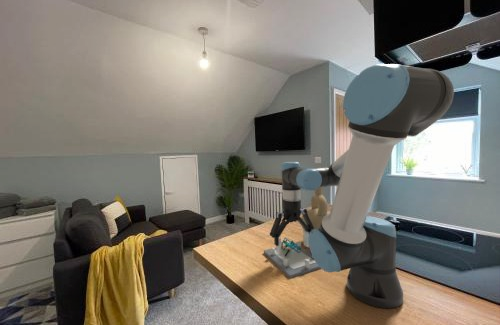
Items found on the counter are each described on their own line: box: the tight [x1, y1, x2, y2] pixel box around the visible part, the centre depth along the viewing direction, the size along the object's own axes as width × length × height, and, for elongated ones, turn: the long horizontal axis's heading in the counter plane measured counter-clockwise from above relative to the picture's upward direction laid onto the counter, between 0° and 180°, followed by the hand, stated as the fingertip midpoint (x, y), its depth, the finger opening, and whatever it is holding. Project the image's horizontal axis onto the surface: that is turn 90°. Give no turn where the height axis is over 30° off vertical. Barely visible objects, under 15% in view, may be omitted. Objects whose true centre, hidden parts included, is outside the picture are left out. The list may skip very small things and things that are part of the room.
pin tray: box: [263, 240, 322, 279], centre depth 87 cm, size 21×17×4 cm
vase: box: [301, 187, 330, 230], centre depth 100 cm, size 17×17×30 cm
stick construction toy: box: [282, 237, 301, 257], centre depth 90 cm, size 12×7×8 cm
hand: (292, 249), depth 87 cm, fingers open, 13 cm apart
